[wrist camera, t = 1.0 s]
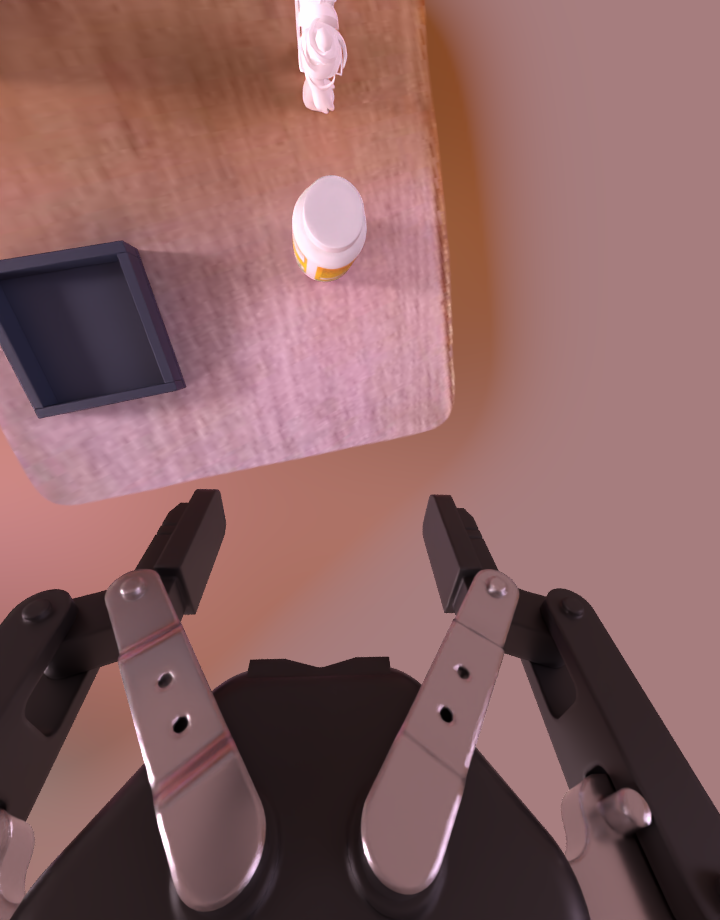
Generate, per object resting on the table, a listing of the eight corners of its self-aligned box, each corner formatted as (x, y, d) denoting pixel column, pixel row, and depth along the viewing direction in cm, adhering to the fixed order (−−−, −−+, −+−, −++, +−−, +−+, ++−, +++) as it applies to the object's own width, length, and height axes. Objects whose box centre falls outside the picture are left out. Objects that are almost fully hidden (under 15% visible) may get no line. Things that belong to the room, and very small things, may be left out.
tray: (-11, 273, 28) (-41, 266, 25) (137, 249, 29) (122, 239, 26) (58, 413, 32) (38, 418, 29) (186, 387, 33) (177, 390, 30)
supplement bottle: (282, 260, 31) (275, 224, 22) (311, 201, 30) (316, 138, 21) (335, 295, 32) (348, 276, 23) (364, 240, 31) (390, 198, 22)
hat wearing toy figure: (283, -2, 25) (269, -277, 14) (336, 4, 26) (363, -257, 15) (295, 149, 28) (291, 20, 17) (342, 151, 29) (368, 28, 18)
